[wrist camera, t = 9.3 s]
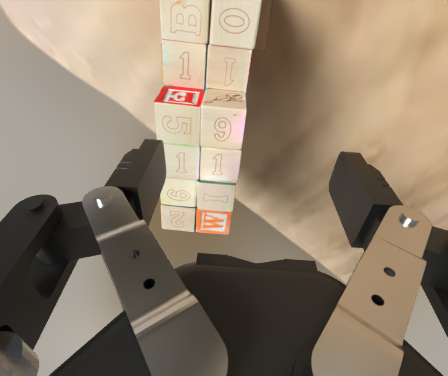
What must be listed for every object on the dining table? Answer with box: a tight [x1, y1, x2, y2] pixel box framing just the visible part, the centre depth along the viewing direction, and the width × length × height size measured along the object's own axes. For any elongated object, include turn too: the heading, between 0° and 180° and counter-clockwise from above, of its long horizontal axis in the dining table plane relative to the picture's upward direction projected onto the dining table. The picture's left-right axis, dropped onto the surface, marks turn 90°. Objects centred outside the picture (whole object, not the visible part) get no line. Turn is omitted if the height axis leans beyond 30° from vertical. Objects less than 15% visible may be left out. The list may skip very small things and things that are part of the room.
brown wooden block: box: [253, 0, 272, 51], centre depth 28 cm, size 6×6×8 cm
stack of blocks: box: [154, 0, 262, 234], centre depth 23 cm, size 21×6×12 cm, turn 174°
